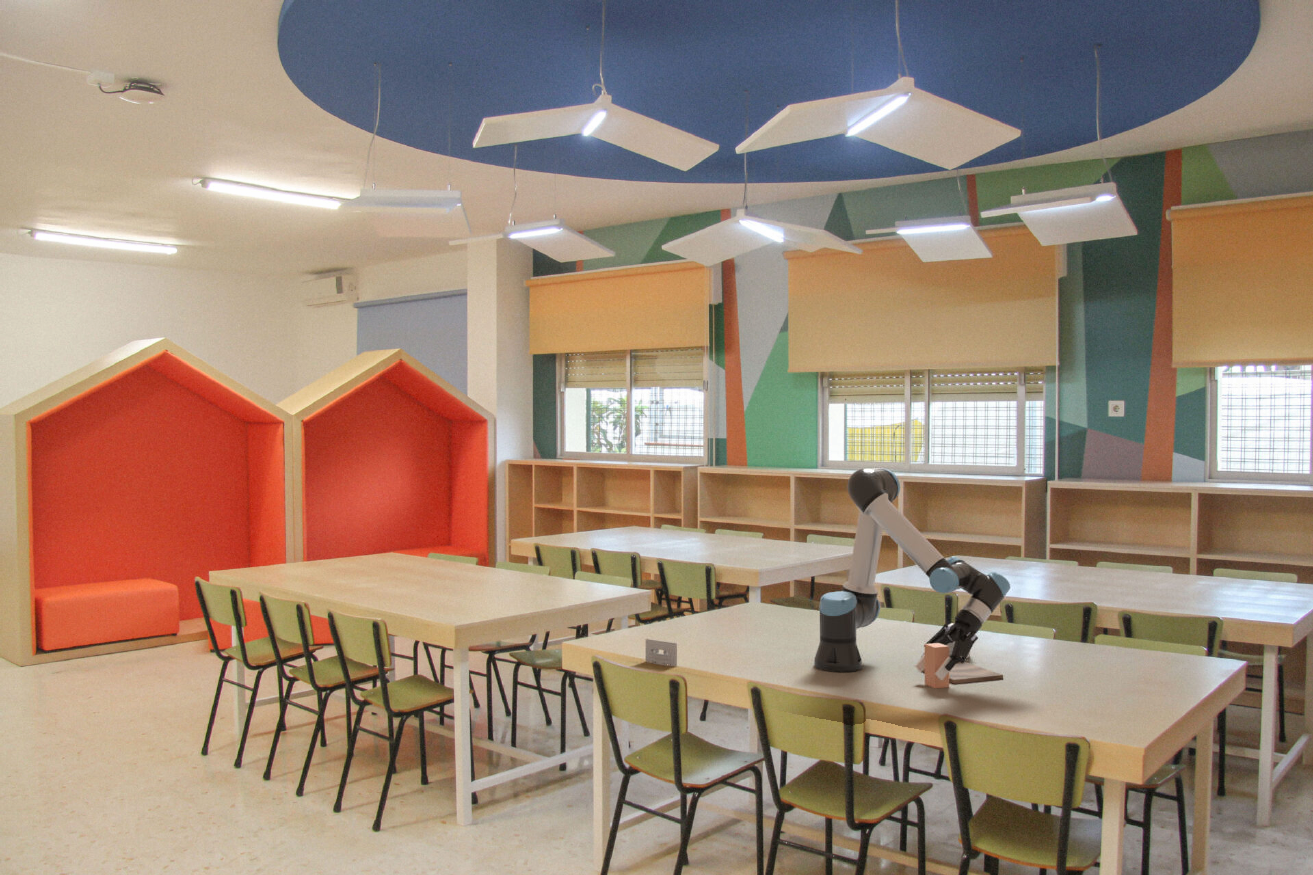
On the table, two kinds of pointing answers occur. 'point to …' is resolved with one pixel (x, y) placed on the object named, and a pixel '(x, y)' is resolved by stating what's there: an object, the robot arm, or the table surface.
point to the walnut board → (971, 673)
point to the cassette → (661, 658)
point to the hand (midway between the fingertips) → (927, 673)
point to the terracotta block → (935, 664)
